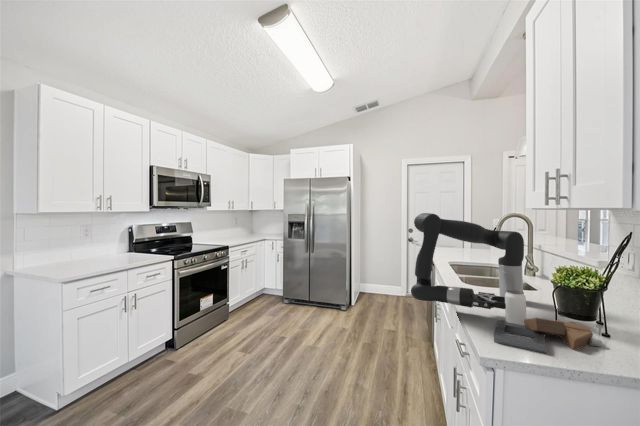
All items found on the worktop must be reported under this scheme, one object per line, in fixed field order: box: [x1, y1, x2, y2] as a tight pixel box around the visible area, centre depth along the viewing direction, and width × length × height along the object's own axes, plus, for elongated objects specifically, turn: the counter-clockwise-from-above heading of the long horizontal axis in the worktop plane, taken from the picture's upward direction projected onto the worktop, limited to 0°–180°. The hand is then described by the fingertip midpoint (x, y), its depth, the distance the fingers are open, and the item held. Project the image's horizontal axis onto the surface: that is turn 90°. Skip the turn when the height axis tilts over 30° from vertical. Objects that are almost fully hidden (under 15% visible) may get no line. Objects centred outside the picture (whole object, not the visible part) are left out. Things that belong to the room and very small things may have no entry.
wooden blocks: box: [524, 317, 603, 351], centre depth 88 cm, size 8×13×18 cm
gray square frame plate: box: [493, 320, 547, 354], centre depth 90 cm, size 14×13×2 cm
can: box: [504, 290, 528, 325], centre depth 102 cm, size 6×6×12 cm
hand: (506, 303), depth 104 cm, fingers open, 8 cm apart
